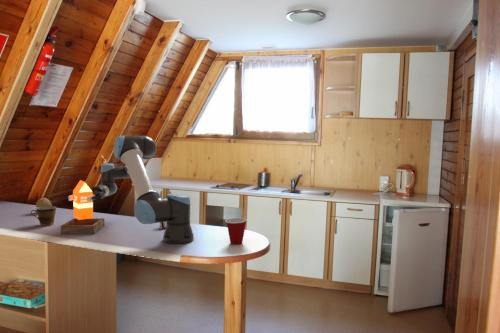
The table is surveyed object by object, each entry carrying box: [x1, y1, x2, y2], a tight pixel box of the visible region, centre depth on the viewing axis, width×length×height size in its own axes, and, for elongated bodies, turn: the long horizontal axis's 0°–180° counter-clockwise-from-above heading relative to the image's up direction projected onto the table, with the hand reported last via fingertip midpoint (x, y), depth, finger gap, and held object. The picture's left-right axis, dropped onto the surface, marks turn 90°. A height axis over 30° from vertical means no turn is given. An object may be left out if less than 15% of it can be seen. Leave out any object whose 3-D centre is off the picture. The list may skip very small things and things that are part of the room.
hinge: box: [159, 221, 167, 230], centre depth 234 cm, size 17×5×10 cm, turn 156°
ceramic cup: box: [30, 205, 57, 227], centre depth 230 cm, size 13×10×10 cm
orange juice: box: [72, 179, 94, 220], centre depth 220 cm, size 8×9×20 cm
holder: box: [60, 217, 106, 235], centre depth 222 cm, size 17×17×4 cm
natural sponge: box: [35, 197, 53, 208], centre depth 262 cm, size 9×9×10 cm
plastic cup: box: [224, 217, 248, 246], centre depth 201 cm, size 11×11×12 cm
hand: (78, 198), depth 216 cm, fingers closed on orange juice, 10 cm apart
